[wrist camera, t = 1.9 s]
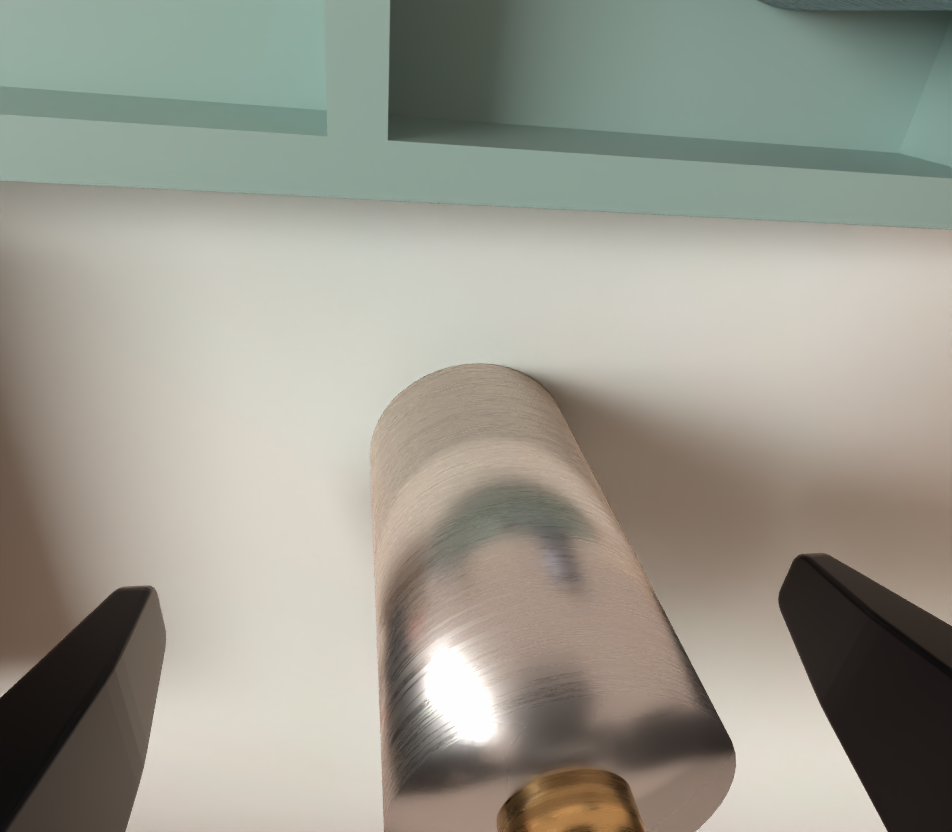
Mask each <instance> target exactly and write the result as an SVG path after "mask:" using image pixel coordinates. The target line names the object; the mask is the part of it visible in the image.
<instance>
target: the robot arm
mask: <svg viewBox="0 0 952 832" xmlns="http://www.w3.org/2000/svg"><path fill="white" fill-rule="evenodd" d="M778 601H779V607H780V610H781V613H782V615H783V618H784V620H785V622H786V625H787V627H788V630H789V632H790V634H791V637H792V639H793V641H794V644H795V646H796V649H797V651H798V653H799V656H800V658H801V661H802V663H803V665H804V668H805V670H806V673H807V675H808V677H809V680H810V682H811V684H812V687H813V689H814V691H815V694H816V696H817V698H818V700H819V703H820V705H821V707H822V709H823V711H824V713H825V715H826V717H827V719H828V720H829V722H830V724H831V726H832V728H833V730H834V732H835V734H836V735H837V737H838V739H839V741H840V743H841V745H842V747H843V749H844V750H845V752H846V754H847V756H848V758H849V760H850V762H851V764H852V765H853V767H854V769H855V771H856V773H857V775H858V777H859V779H860V780H861V782H862V784H863V786H864V788H865V790H866V792H867V794H868V795H869V797H870V799H871V801H872V803H873V805H874V807H875V809H876V810H877V812H878V814H879V816H880V818H881V820H882V822H883V824H884V825H885V827H886V829H887V831H888V832H952V626H951V625H949V624H947V623H945V622H944V621H942V620H940V619H939V618H937V617H935V616H933V615H932V614H930V613H928V612H926V611H925V610H923V609H921V608H920V607H918V606H916V605H914V604H913V603H911V602H909V601H908V600H906V599H904V598H902V597H901V596H899V595H897V594H895V593H894V592H892V591H890V590H889V589H887V588H885V587H883V586H882V585H880V584H878V583H876V582H875V581H873V580H871V579H870V578H868V577H866V576H864V575H863V574H861V573H859V572H857V571H856V570H854V569H852V568H851V567H849V566H847V565H845V564H844V563H842V562H840V561H838V560H837V559H835V558H833V557H832V556H830V555H827V554H824V553H812V554H801V555H798V556H797V557H796V558H795V559H794V560H793V562H792V564H791V567H790V569H789V571H788V573H787V576H786V578H785V580H784V582H783V585H782V587H781V589H780V592H779V597H778ZM165 645H166V631H165V625H164V621H163V616H162V612H161V607H160V603H159V598H158V594H157V591H156V590H155V588H154V587H152V586H129V587H121V588H119V589H117V590H115V591H114V592H113V593H112V594H111V595H109V596H108V597H107V598H106V599H105V600H104V601H103V602H102V603H101V604H100V605H99V606H98V607H97V608H96V609H95V610H94V611H92V612H91V613H90V614H89V615H88V616H87V617H86V618H85V619H84V620H83V621H82V622H81V623H80V624H79V625H78V626H76V627H75V628H74V629H73V630H72V631H71V632H70V633H69V634H68V635H67V636H66V637H65V638H64V639H63V640H62V641H61V642H59V643H58V644H57V645H56V646H55V647H54V648H53V649H52V650H51V651H50V652H49V653H48V654H47V655H46V656H45V657H44V658H42V659H41V660H40V661H39V662H38V663H37V664H36V665H35V666H34V667H33V668H32V669H31V670H30V671H29V672H28V673H27V674H25V675H24V676H23V677H22V678H21V679H20V680H19V681H18V682H17V683H16V684H15V685H14V686H13V687H12V688H11V689H9V690H8V691H7V692H6V693H5V694H4V695H3V696H2V697H1V698H0V832H125V831H126V828H127V824H128V821H129V817H130V814H131V811H132V807H133V804H134V801H135V797H136V794H137V791H138V787H139V783H140V779H141V776H142V772H143V768H144V763H145V758H146V753H147V748H148V743H149V737H150V731H151V726H152V720H153V714H154V709H155V703H156V698H157V692H158V686H159V681H160V675H161V669H162V664H163V658H164V652H165Z"/></svg>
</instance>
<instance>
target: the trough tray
mask: <svg viewBox="0 0 952 832" xmlns="http://www.w3.org/2000/svg"><path fill="white" fill-rule="evenodd" d="M0 181H16V182H36V183H55V184H75V185H94V186H114V187H133V188H153V189H172V190H191V191H211V192H230V193H250V194H269V195H289V196H308V197H328V198H347V199H366V200H386V201H405V202H425V203H444V204H464V205H483V206H503V207H522V208H541V209H561V210H580V211H600V212H619V213H639V214H658V215H678V216H697V217H716V218H736V219H755V220H775V221H794V222H814V223H833V224H853V225H872V226H891V227H911V228H930V229H950V230H952V10H786V9H781V8H776V7H772V6H770V5H767V4H765V3H762V2H760V1H757V0H0Z"/></svg>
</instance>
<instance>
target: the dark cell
mask: <svg viewBox="0 0 952 832" xmlns="http://www.w3.org/2000/svg"><path fill="white" fill-rule="evenodd" d="M757 1H760V2H762V3H765V4H767V5H770V6H772V7H776V8H781V9H786V10H952V0H757Z"/></svg>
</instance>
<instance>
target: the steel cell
mask: <svg viewBox="0 0 952 832" xmlns="http://www.w3.org/2000/svg"><path fill="white" fill-rule="evenodd" d="M370 465H371V492H372V519H373V546H374V572H375V599H376V626H377V653H378V679H379V706H380V733H381V759H382V786H383V813H384V832H695V831H696V830H697V829H699V828H700V827H701V826H702V825H703V824H704V823H705V822H706V821H707V820H708V819H709V818H710V817H711V816H712V814H713V813H714V812H715V811H716V809H717V808H718V807H719V806H720V804H721V803H722V801H723V799H724V798H725V796H726V794H727V793H728V791H729V789H730V786H731V783H732V781H733V778H734V773H735V768H736V757H735V751H734V747H733V744H732V741H731V739H730V737H729V735H728V733H727V731H726V729H725V728H724V726H723V724H722V722H721V720H720V718H719V716H718V714H717V712H716V710H715V708H714V706H713V704H712V702H711V700H710V699H709V697H708V695H707V693H706V691H705V689H704V687H703V685H702V683H701V681H700V679H699V677H698V675H697V673H696V672H695V670H694V668H693V666H692V664H691V662H690V660H689V658H688V656H687V654H686V652H685V650H684V648H683V646H682V644H681V643H680V641H679V639H678V637H677V635H676V633H675V631H674V629H673V627H672V625H671V623H670V621H669V619H668V617H667V616H666V614H665V612H664V610H663V608H662V606H661V604H660V602H659V600H658V598H657V596H656V594H655V592H654V590H653V588H652V587H651V585H650V583H649V581H648V579H647V577H646V575H645V573H644V571H643V569H642V567H641V565H640V563H639V561H638V559H637V558H636V556H635V554H634V552H633V550H632V548H631V546H630V544H629V542H628V540H627V538H626V536H625V534H624V532H623V531H622V529H621V527H620V525H619V523H618V521H617V519H616V517H615V515H614V513H613V511H612V509H611V507H610V505H609V503H608V502H607V500H606V498H605V496H604V494H603V492H602V490H601V488H600V486H599V484H598V482H597V480H596V478H595V476H594V475H593V473H592V471H591V469H590V467H589V465H588V463H587V461H586V459H585V457H584V455H583V453H582V451H581V449H580V447H579V446H578V444H577V442H576V440H575V438H574V436H573V434H572V432H571V430H570V428H569V426H568V424H567V422H566V420H565V418H564V417H563V415H562V413H561V411H560V409H559V407H558V405H557V404H556V402H555V400H554V399H553V398H552V396H551V395H550V394H549V393H548V391H547V390H546V389H544V388H543V387H542V386H541V385H540V384H539V383H538V382H536V381H535V380H533V379H532V378H530V377H529V376H527V375H524V374H522V373H520V372H518V371H516V370H513V369H509V368H506V367H502V366H497V365H490V364H465V365H459V366H453V367H449V368H445V369H442V370H439V371H436V372H434V373H431V374H429V375H427V376H424V377H423V378H421V379H419V380H417V381H416V382H414V383H412V384H411V385H410V386H408V387H407V388H406V389H404V390H403V391H402V392H401V393H400V394H399V395H397V396H396V397H395V398H394V399H393V400H392V402H391V403H390V404H389V405H388V407H387V408H386V409H385V410H384V412H383V414H382V415H381V417H380V419H379V420H378V423H377V425H376V428H375V430H374V433H373V437H372V441H371V449H370Z"/></svg>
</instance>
